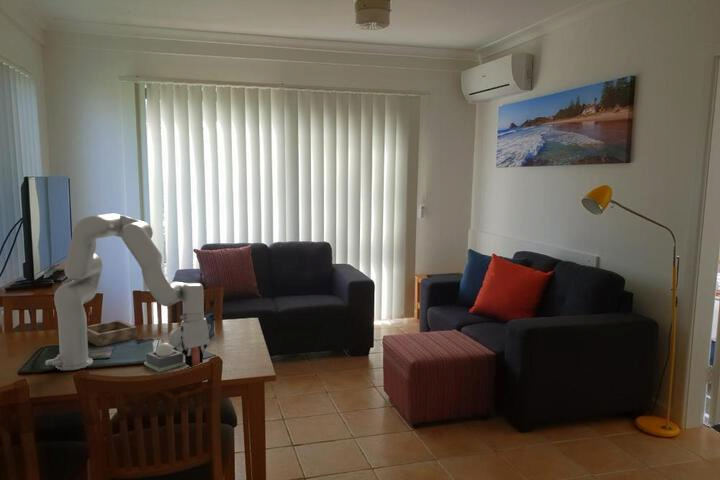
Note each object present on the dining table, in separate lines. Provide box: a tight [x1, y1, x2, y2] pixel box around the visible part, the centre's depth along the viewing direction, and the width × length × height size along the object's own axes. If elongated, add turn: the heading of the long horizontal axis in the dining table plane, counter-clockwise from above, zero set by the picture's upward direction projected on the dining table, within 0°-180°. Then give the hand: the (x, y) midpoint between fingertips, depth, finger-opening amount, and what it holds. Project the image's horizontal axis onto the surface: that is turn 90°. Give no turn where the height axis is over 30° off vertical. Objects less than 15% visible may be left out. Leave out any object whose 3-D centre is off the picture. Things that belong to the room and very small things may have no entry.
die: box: [168, 326, 184, 349], centre depth 229 cm, size 8×9×10 cm
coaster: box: [203, 350, 216, 360], centre depth 219 cm, size 8×8×1 cm
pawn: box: [188, 347, 201, 368], centre depth 208 cm, size 4×4×8 cm
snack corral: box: [87, 319, 138, 347], centre depth 241 cm, size 17×17×5 cm
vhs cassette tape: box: [204, 312, 215, 339], centre depth 240 cm, size 18×3×10 cm, turn 166°
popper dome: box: [155, 342, 173, 357], centre depth 208 cm, size 6×6×6 cm
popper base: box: [143, 348, 187, 373], centre depth 209 cm, size 11×11×4 cm
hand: (194, 363), depth 208 cm, fingers closed on pawn, 4 cm apart
